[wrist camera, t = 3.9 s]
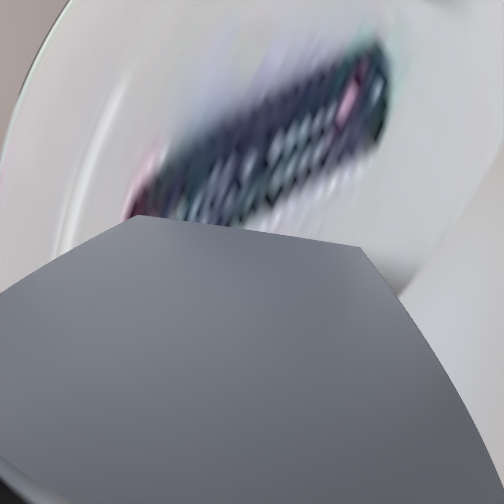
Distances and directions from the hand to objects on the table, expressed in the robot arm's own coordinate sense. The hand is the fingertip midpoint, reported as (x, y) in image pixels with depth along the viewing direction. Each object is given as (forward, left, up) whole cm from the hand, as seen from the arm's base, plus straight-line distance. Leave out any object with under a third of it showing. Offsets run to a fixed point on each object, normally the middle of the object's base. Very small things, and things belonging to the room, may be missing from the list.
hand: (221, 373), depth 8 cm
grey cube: (0, 0, -3) cm, 3 cm away
